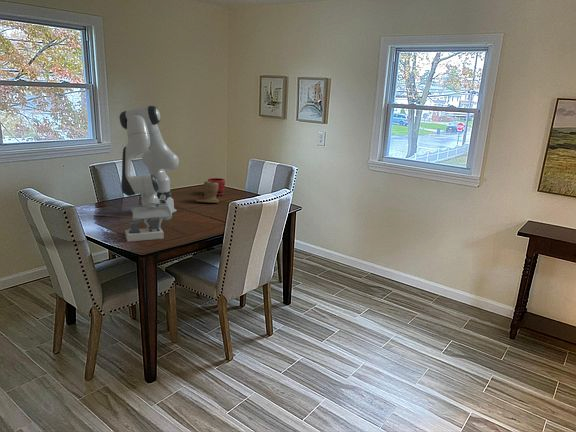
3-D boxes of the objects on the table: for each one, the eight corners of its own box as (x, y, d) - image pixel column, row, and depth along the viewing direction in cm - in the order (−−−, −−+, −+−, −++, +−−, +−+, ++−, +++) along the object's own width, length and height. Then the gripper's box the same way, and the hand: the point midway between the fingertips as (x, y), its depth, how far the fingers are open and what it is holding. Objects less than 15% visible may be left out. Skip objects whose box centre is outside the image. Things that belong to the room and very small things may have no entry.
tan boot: (220, 200, 313) (220, 180, 309) (217, 204, 302) (218, 183, 297) (199, 199, 312) (199, 179, 308) (196, 203, 301) (196, 182, 297)
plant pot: (228, 194, 332) (228, 179, 329) (216, 197, 322) (217, 181, 318) (215, 191, 339) (215, 176, 336) (203, 194, 328) (203, 178, 325)
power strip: (123, 230, 237) (122, 215, 234) (157, 227, 245) (157, 213, 242) (127, 241, 220) (127, 225, 218) (163, 238, 228) (163, 223, 226)
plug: (149, 234, 230) (149, 218, 228) (157, 234, 232) (157, 218, 230) (150, 236, 228) (150, 220, 225) (158, 236, 229) (158, 219, 227)
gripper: (130, 202, 227) (133, 225, 221) (170, 200, 236) (174, 222, 230) (129, 208, 232) (132, 231, 226) (168, 206, 241) (172, 228, 235)
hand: (154, 227), depth 228 cm, fingers closed on plug, 4 cm apart
